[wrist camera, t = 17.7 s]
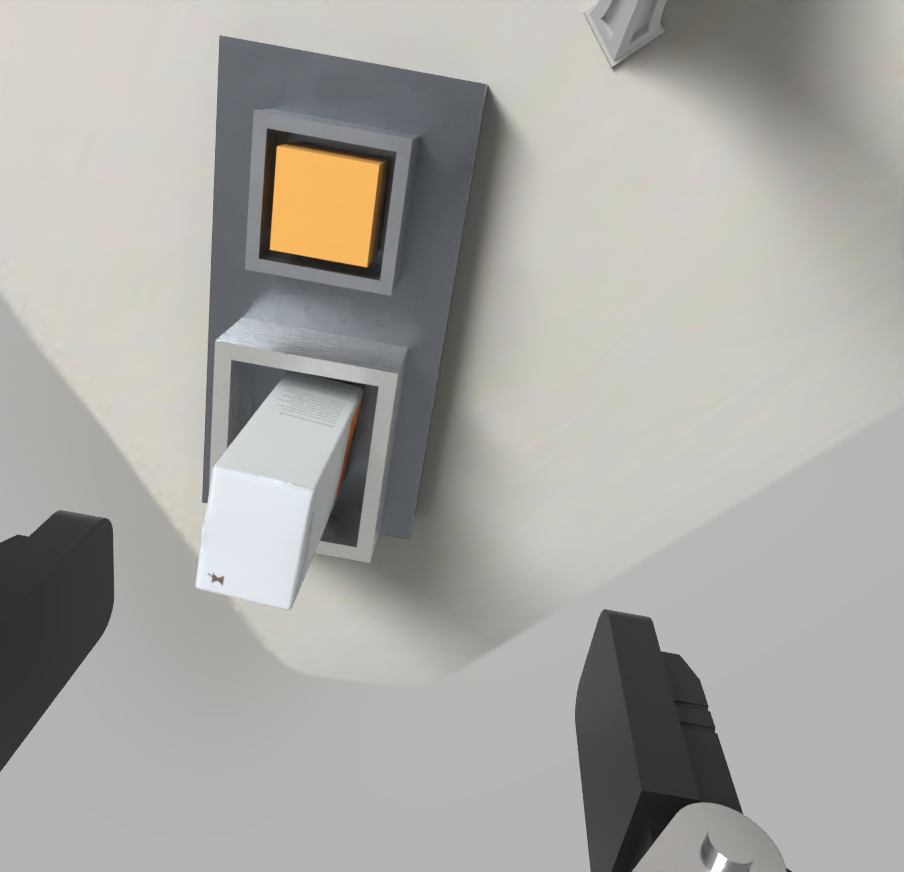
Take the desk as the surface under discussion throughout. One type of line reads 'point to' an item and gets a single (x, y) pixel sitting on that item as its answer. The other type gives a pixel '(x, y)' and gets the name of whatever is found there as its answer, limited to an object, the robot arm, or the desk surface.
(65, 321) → the desk surface
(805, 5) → the desk surface
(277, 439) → the skincare box
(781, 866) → the robot arm
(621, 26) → the eiffel tower
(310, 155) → the button
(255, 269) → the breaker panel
